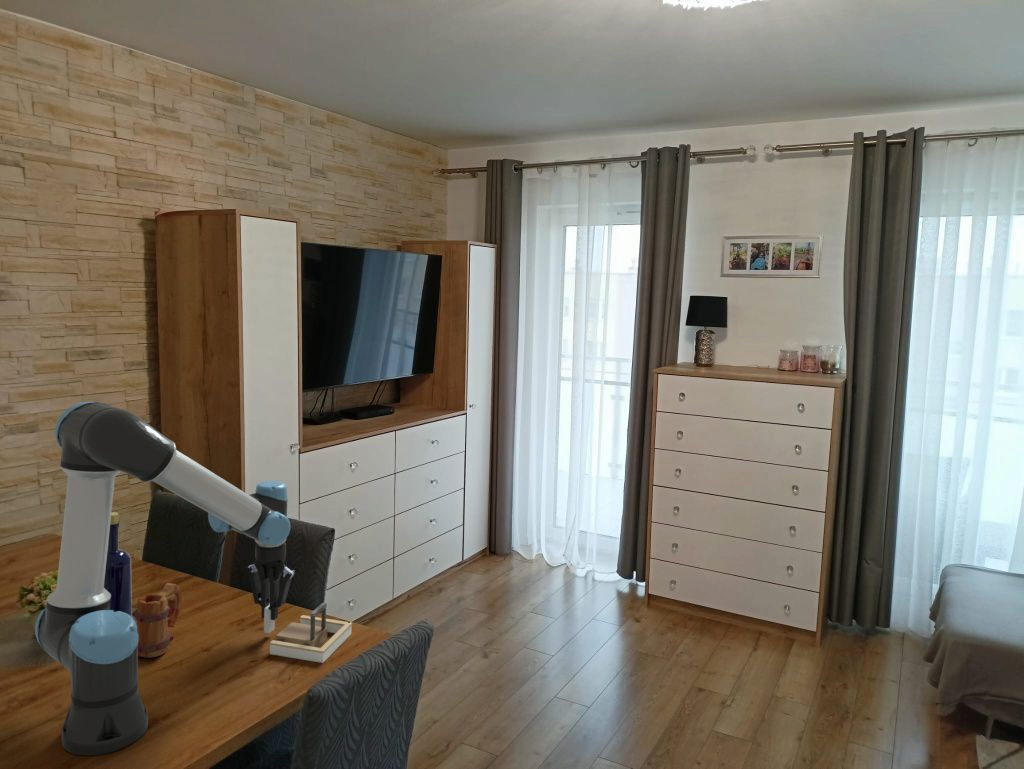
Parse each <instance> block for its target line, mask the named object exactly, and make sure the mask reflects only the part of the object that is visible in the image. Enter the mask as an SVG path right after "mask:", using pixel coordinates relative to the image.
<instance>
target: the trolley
mask: <svg viewBox="0 0 1024 769" xmlns="http://www.w3.org/2000/svg"><path fill="white" fill-rule="evenodd" d="M327 605H328V604H327V602H322V603H320V605H319V606H317V607H316V608H315V609H314V610H312V611H311V612H310V615H309V616H310V617H311V625H307V624H301V623H300V622H294V621H293V622H290V623H289V624H288V625H287V626H285V628H283V629H282V630H281V631H279V632H278V633H277V634H276V635H275V641H281V642H287V643H293V644H299V645H306V646H312V647H318V648H320V646H322V645H323V643H324V642H326V640H328V632H327V628H326V619H327ZM320 613H321V618H322V621H321V627H320V626H315V617H318V615H319V614H320Z"/></svg>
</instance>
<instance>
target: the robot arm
mask: <svg viewBox="0 0 1024 769" xmlns="http://www.w3.org/2000/svg"><path fill="white" fill-rule="evenodd" d="M54 435H55V438H56V441H57V444H58V446H59V447H60V448H61V455H60V463H59V464H60V466H59V467H60V469H61V470H62V471H63V472H64V473H65V474H66V475H67V480H66V481H67V482H66V491H65V492H66V493H65V501H64V504H65V505H64V512H63V523H62V534H61V541H60V543H61V544H60V550H59V551H60V552H59V560H58V561H59V562H58V570H57V582H56V588H55V590H54V591H53V592H51V593H50V594H48V596H47V597H46V602H45V603H46V604H45V607H44V609H42V610H41V612H40V613H39V614H38V617H37V619H36V622H35V627H34V629H35V637H36V640H37V642H38V644H39V646H40V647H41V649H42V650H43V651H44V653H45V654H47V655H49V656H50V657H51V658H53V659H54V660H55V661H56V662H57V663H58V664H59V665H61V666H62V667H64V668H65V669H66V670H67V672H69V674H70V693H71V698H70V699H71V702H70V706H69V709H68V711H67V715H66V717H65V719H64V723H63V726H62V728H61V746H62V747H63V749H64V750H65V751H67V752H69V753H71V754H74V755H78V756H98V755H99V756H100V755H104V754H109V753H113V752H116V751H118V750H121V749H125V748H126V747H128V746H130V745H132V744H134V743H135V742H137V741H138V740H139V739H140V738H142V737H143V735H144V734H145V733H146V731H147V730H148V727H149V726H148V725H149V714H148V711H147V709H146V707H145V706H144V704H143V699H142V697H141V694H140V692H139V682H138V680H139V673H138V672H139V670H138V669H139V660H138V659H139V655H138V633H137V621H136V619H135V618H133V616H132V617H131V616H130V615H128V614H126V613H124V612H121V611H117V612H114V611H113V610H110V599H111V594H110V593H109V592H108V591H107V590H106V589H105V588H104V579H105V569H106V560H107V550H108V541H109V531H110V522H111V513H112V511H113V500H114V491H115V483H116V482H115V481H116V476H118V475H119V474H120V473H121V472H122V473H125V474H128V475H129V476H132V477H133V478H135V479H138V480H140V481H142V482H144V483H149V482H154V483H155V484H157V485H159V486H161V487H162V488H165V489H166V490H168V491H170V492H172V493H173V494H175V495H177V496H179V497H181V498H182V499H183V500H185V501H187V502H189V503H191V504H192V505H194V506H197V507H198V508H200V509H201V510H203V511H205V512H207V513H208V515H207V517H208V522H209V526H210V527H211V529H212V530H213V531H214V532H216V533H224V532H226V533H227V532H229V531H235V532H237V533H239V534H242V535H245V536H246V537H249V538H251V539H253V540H254V541H255V544H254V545H255V550H254V552H255V553H254V554H255V555H254V556H255V560H254V563H252V564H250V565H248V566H246V567H245V571H246V573H247V575H248V577H249V583H250V588H251V591H252V592H251V593H252V597H253V603H254V604H255V605H259V606H260V607H261V613H260V614H261V619H262V620H263V633H265V634H271V632H273V631H274V630H275V628H276V619H277V618H278V615H279V608H281V607H282V606H283V605H285V604H286V601H287V597H288V593H289V590H290V585H291V581H292V579H293V577H294V576H295V574H296V570H294V569H292V570H291V569H290V568H289V567H288V564H287V561H286V557H287V542H286V541H287V538H288V537H289V534H290V532H291V522H290V519H289V518H288V516H287V515H288V502H289V501H288V500H289V499H288V488H287V484H285V483H284V482H281V481H275V480H267V481H261V482H259V483H258V484H257V485H256V486H255V492H254V493H251V494H248V493H246V492H245V491H243V490H241V489H240V488H238V487H236V486H235V485H234V484H232V483H230V482H229V481H227V480H225V479H224V478H222V477H220V476H219V475H217V474H216V473H214V472H213V471H212V470H209V469H208V468H206V467H205V466H203V465H201V464H200V463H198V462H197V461H196V460H194V459H192V458H190V457H189V456H187V455H185V454H184V453H182V452H181V451H179V450H177V446H176V443H175V442H174V441H173V440H171V439H169V438H168V437H166V436H165V435H163V434H162V433H161V432H160V431H158V430H157V429H156V428H154V427H152V426H151V425H150V424H149V423H147V422H146V421H145V420H144V419H142V418H140V417H139V416H138V415H137V414H135V413H133V412H131V411H130V410H129V411H128V410H126V409H123V408H118V407H116V406H112V405H111V404H108V403H106V402H101V401H93V400H92V401H81V402H78V403H75V404H73V405H71V406H70V407H68V408H67V409H66V410H64V411H63V413H62V414H61V415H60V416H59V418H57V422H56V424H55V429H54ZM282 574H283V575H282ZM281 576H282V577H283V579H282V581H281ZM280 581H281V586H280Z"/></svg>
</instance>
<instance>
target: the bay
mask: <svg viewBox="0 0 1024 769" xmlns="http://www.w3.org/2000/svg"><path fill="white" fill-rule="evenodd" d="M321 621H322V617H318V616H315V626H320V627H321ZM348 622H350V621H342V620H337V619H330V618H326V628H327V633H330V634H331V633H332V634H334V635H332V636H331V637H330V638H329V639H327V641H325V643H324V644H322V645H321V647H312V646H306V645H299V644H293V643H287V642H281V641H276V639H275V640H274V639H272V640H271V641H270V642H269V655H272V656H280V657H284V658H291V659H297V660H304V661H310V662H315V663H316V662H317V663H321V664H323V663H325V662H326V660H328V658H329V657H330V656H332V655H333V653H334V652H335V651H336V650H337V649H338V648H339V647H340V646H341V645H342V644H344V642H345V641H346V640H347V639H348V638H350V636H351V635H352V630H353V629H352V628H353V627H352V626H353V622H350V623H348ZM299 623H301V624H307V625H311V617H310V615H303V614H302V615H301V616H300V617H299Z"/></svg>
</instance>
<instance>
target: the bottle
mask: <svg viewBox="0 0 1024 769" xmlns="http://www.w3.org/2000/svg"><path fill="white" fill-rule="evenodd" d="M119 527H120V521H119V512H115V511H113V512H111V522H110V531H109V541H108V550H107V560H106V569H105V579H104V588H105V589H106V590H107V591H108V592H109V593H110V594H111V599H110V610H113V611H114V612H117V611H121V612H124V613H126V614H128V615H130V616H131V617H132V618H133V616H132V613H133V609H132V607H133V606H132V605H133V603H132V601H133V600H132V597H133V596H132V594H133V593H132V556H131V555H130V554H129V552H128V551H127V550H125V549H121V548H119Z"/></svg>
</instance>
